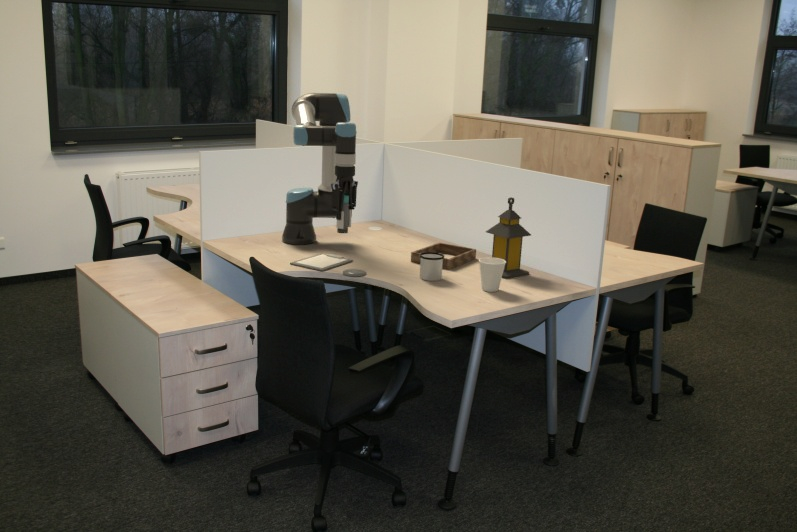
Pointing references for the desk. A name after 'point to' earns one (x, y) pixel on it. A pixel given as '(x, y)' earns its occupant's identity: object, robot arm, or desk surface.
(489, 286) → the cup
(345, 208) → the marker
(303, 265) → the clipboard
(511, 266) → the lantern
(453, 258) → the wooden frame
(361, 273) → the coaster
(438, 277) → the mug
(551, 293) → the desk surface
